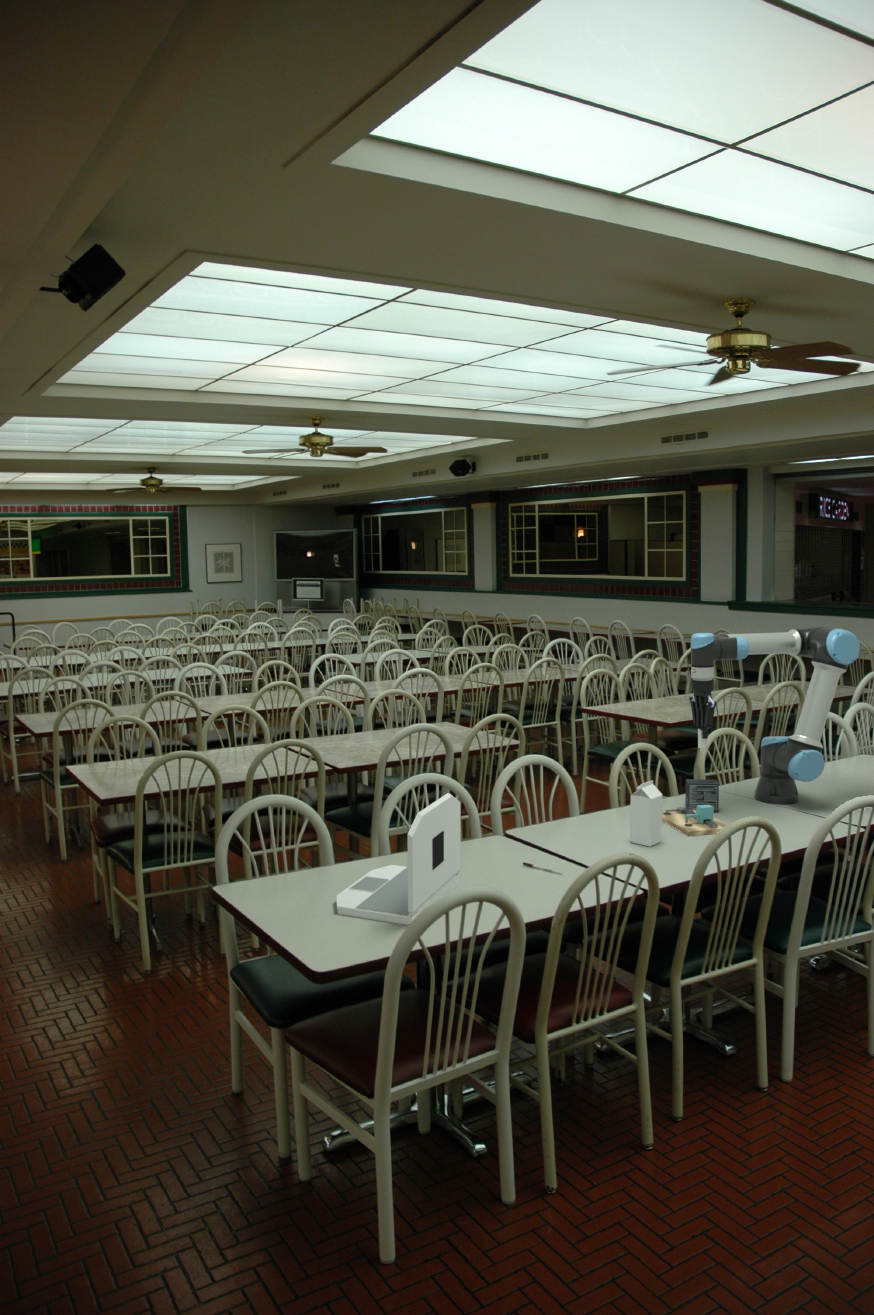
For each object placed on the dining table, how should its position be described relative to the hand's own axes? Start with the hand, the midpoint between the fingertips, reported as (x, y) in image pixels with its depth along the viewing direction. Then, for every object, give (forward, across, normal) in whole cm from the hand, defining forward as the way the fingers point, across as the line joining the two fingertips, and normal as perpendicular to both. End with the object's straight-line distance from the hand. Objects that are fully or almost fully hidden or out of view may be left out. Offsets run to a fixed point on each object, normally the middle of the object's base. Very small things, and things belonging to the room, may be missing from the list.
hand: (702, 747), depth 316 cm
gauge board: (+23, +10, -10) cm, 27 cm away
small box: (+24, -5, +2) cm, 24 cm away
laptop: (+20, +42, -120) cm, 129 cm away
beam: (+22, +9, -10) cm, 26 cm away
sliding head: (+21, +13, -11) cm, 27 cm away
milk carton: (+23, +22, -35) cm, 47 cm away
